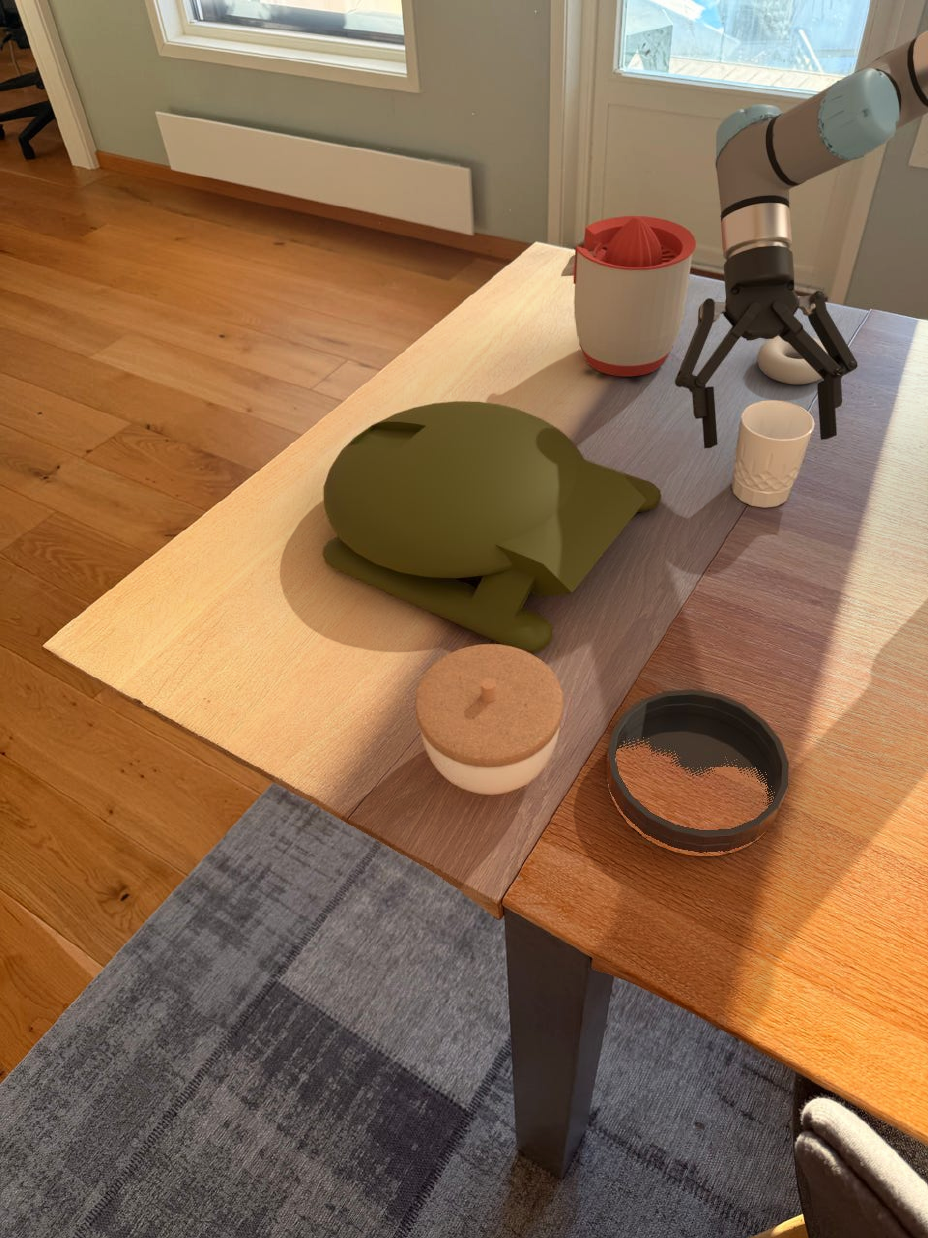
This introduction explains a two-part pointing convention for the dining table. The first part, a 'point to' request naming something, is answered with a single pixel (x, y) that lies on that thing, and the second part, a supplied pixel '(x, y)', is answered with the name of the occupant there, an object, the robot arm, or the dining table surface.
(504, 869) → the dining table surface
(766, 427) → the white cup
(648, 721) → the dark grey round dish
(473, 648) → the lidded bowl
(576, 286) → the citrus juicer
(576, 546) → the spaceship
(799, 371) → the donut
